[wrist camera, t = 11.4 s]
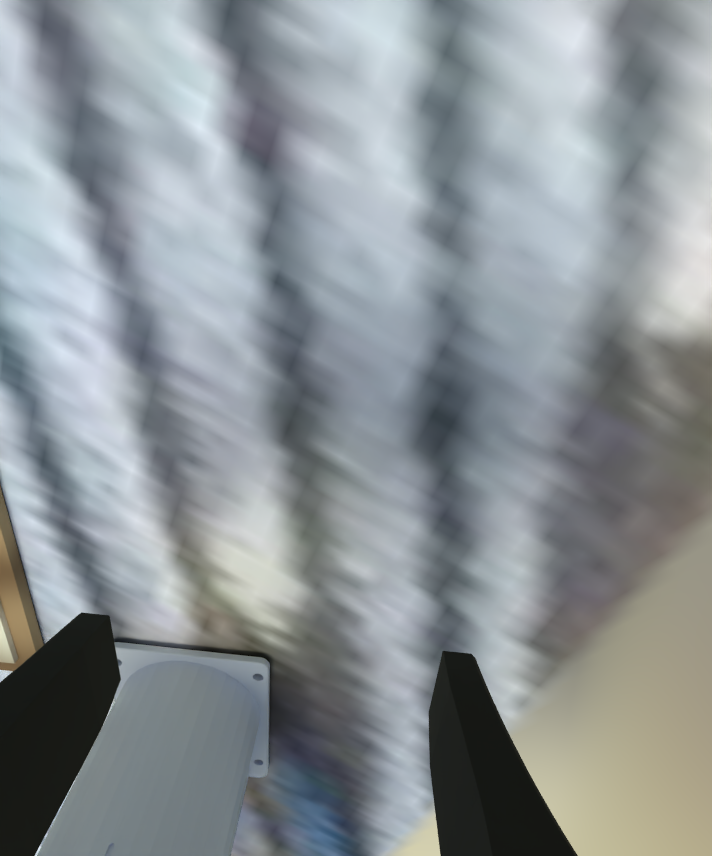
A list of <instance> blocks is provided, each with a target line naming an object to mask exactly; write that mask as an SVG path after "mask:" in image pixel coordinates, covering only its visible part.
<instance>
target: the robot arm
mask: <svg viewBox="0 0 712 856" xmlns="http://www.w3.org/2000/svg"><path fill="white" fill-rule="evenodd" d="M269 694H270V664H269V662H268V661H267V660H266V659H264V658H261V657H254V656H244V655H235V654H226V653H216V652H207V651H198V650H188V649H179V648H169V647H160V646H151V645H141V644H132V643H122V642H114V638H113V633H112V627H111V622H110V617H109V616H108V615H99V614H89V613H80V614H79V615H78V616H77V617H75V618H74V619H73V620H72V621H71V622H70V623H68V624H67V625H66V626H65V627H64V628H63V629H62V630H60V631H59V632H58V633H57V634H56V635H55V636H54V637H52V638H51V639H50V640H49V641H48V642H47V643H46V644H44V645H43V646H42V647H41V648H40V649H39V650H38V651H36V652H35V653H34V654H33V655H32V656H31V657H29V658H28V659H27V660H26V661H25V662H24V663H23V664H21V665H20V666H19V667H18V668H17V669H16V670H14V671H13V672H12V673H11V674H10V675H8V676H7V677H6V678H5V679H4V680H3V681H1V682H0V856H35V854H36V852H37V850H38V848H39V846H40V844H41V842H42V840H43V838H44V836H45V834H46V833H47V831H48V829H49V827H50V825H51V823H52V821H53V819H54V818H55V816H56V814H57V812H58V810H59V808H60V806H61V804H62V803H63V801H64V799H65V797H66V795H67V793H68V791H69V789H70V788H71V786H72V784H73V782H74V780H75V778H76V776H77V774H78V773H79V774H78V776H77V778H76V780H75V782H74V784H73V786H72V788H71V790H70V792H69V794H68V796H67V798H66V800H65V802H64V804H63V806H62V808H61V810H60V812H59V814H58V816H57V818H56V820H55V822H54V824H53V826H52V827H51V829H50V831H49V833H48V835H47V837H46V839H45V841H44V843H43V845H42V847H41V849H40V851H39V853H38V855H37V856H231V851H232V847H233V843H234V838H235V834H236V830H237V825H238V821H239V816H240V812H241V808H242V803H243V799H244V795H245V790H246V786H247V782H248V777H257V778H262V777H265V776H266V775H267V773H268V768H269ZM114 698H115V703H114V705H113V707H112V709H111V711H110V713H109V715H108V717H107V719H106V716H107V714H108V711H109V709H110V707H111V704H112V701H113V699H114ZM105 719H106V721H105ZM104 721H105V723H104ZM103 723H104V725H103ZM102 726H103V727H102ZM101 728H102V729H101ZM100 730H101V731H100ZM99 732H100V733H99ZM98 734H99V735H98ZM97 736H98V737H97ZM96 738H97V739H96ZM95 740H96V741H95ZM94 742H95V743H94ZM93 744H94V745H93ZM92 746H93V747H92ZM429 747H430V769H431V778H432V787H433V795H434V804H435V812H436V821H437V828H438V837H439V845H440V854H441V856H577V854H576V852H575V851H574V849H573V848H572V846H571V844H570V843H569V841H568V840H567V838H566V836H565V835H564V833H563V832H562V830H561V828H560V826H559V825H558V823H557V822H556V820H555V818H554V816H553V815H552V813H551V811H550V809H549V808H548V806H547V804H546V803H545V801H544V799H543V797H542V796H541V794H540V792H539V790H538V789H537V787H536V785H535V783H534V781H533V779H532V778H531V776H530V774H529V772H528V770H527V769H526V766H525V765H524V763H523V761H522V759H521V757H520V755H519V753H518V751H517V749H516V747H515V745H514V743H513V741H512V739H511V737H510V735H509V733H508V731H507V729H506V727H505V725H504V723H503V721H502V719H501V717H500V715H499V712H498V710H497V708H496V706H495V704H494V702H493V700H492V697H491V695H490V693H489V690H488V688H487V686H486V683H485V681H484V679H483V676H482V674H481V671H480V669H479V666H478V664H477V661H476V659H475V657H474V656H473V655H472V654H467V653H458V652H448V651H443V653H442V657H441V661H440V666H439V670H438V674H437V679H436V683H435V687H434V692H433V696H432V701H431V705H430V709H429ZM91 748H92V749H91ZM90 750H91V751H90ZM89 752H90V753H89ZM88 754H89V755H88ZM87 755H88V757H87ZM86 757H87V759H86ZM85 759H86V760H85ZM84 761H85V762H84ZM83 763H84V764H83ZM82 765H83V766H82ZM81 767H82V768H81ZM80 769H81V770H80ZM79 771H80V772H79Z"/></svg>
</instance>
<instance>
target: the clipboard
mask: <svg viewBox="0 0 712 856" xmlns="http://www.w3.org/2000/svg"><path fill="white" fill-rule="evenodd" d="M43 645H44V644H43V640H42V637H41V633H40V629H39V626H38V622H37V618H36V615H35V611H34V607H33V604H32V600H31V596H30V593H29V589H28V585H27V582H26V578H25V574H24V570H23V567H22V563H21V559H20V556H19V552H18V548H17V545H16V541H15V537H14V534H13V530H12V526H11V523H10V519H9V515H8V512H7V508H6V504H5V501H4V497H3V493H2V490H1V486H0V670H9V671H14V670H16V669H17V668H18V667H19V666H20V665H21V664H23V663H24V662H25V661H26V660H27V659H28V658H29V657H31V656H32V655H33V654H34V653H35V652H36V651H38V650H39V649H40V648H41V647H42V646H43Z"/></svg>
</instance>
